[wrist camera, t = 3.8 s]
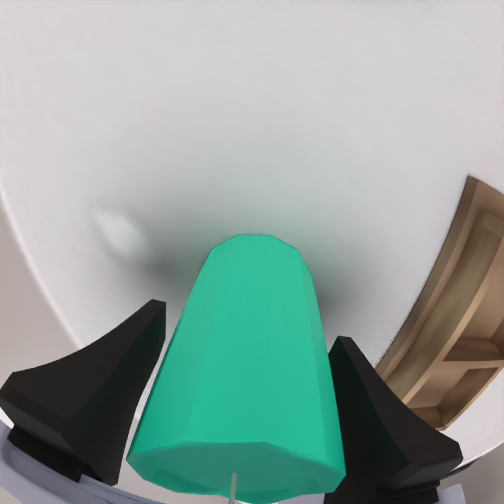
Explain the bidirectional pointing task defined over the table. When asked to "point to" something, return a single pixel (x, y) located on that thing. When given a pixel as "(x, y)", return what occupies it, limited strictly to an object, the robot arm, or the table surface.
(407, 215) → the table surface
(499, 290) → the divided wooden tray
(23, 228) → the table surface
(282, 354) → the candle
